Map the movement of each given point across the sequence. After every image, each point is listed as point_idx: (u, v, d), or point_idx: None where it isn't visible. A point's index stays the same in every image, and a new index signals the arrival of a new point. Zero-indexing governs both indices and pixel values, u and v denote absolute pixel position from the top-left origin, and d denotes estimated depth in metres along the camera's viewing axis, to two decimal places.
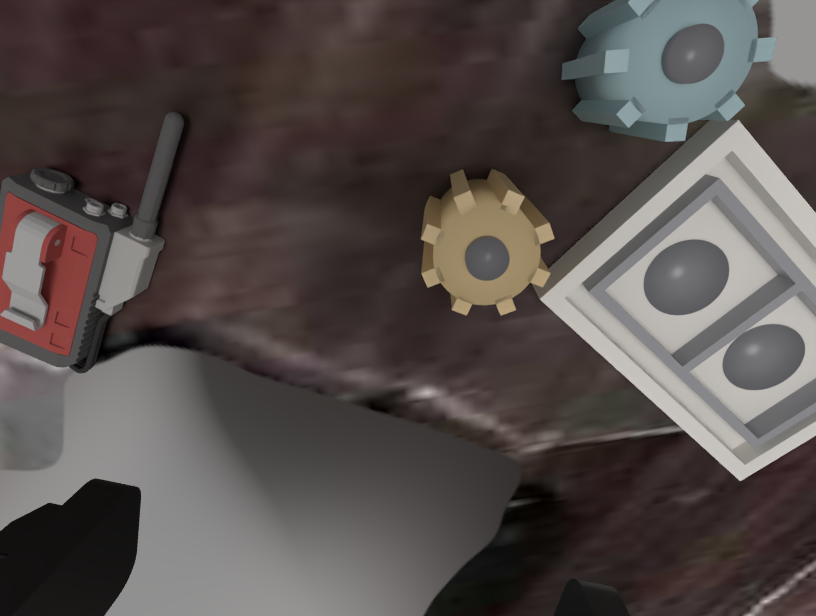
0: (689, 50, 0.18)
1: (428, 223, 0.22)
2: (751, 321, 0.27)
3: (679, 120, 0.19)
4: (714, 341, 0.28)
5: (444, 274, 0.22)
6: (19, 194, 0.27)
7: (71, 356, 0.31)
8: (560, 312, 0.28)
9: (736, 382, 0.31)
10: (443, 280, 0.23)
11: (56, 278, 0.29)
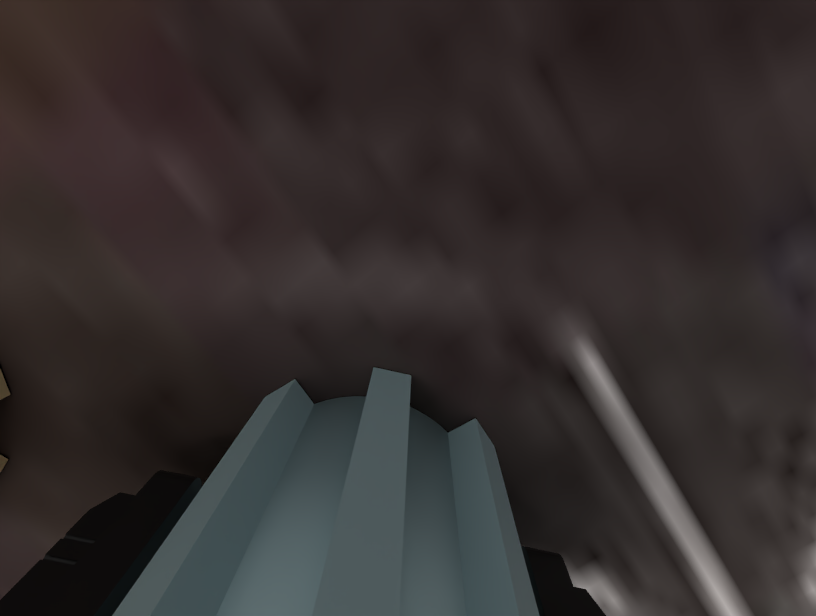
0: None
1: None
2: None
3: None
4: None
5: None
6: None
7: None
8: None
9: None
10: None
11: None
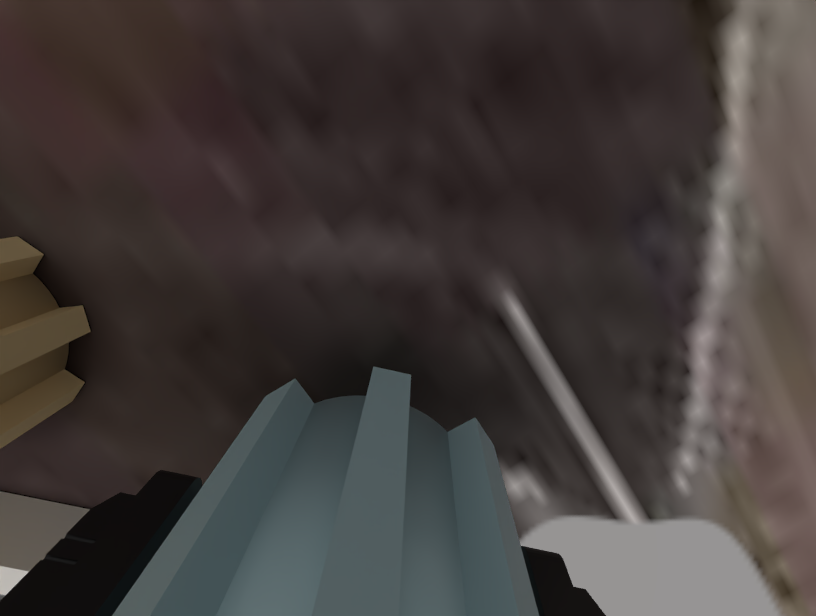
0: None
1: None
2: None
3: None
4: None
5: None
6: None
7: None
8: None
9: None
10: None
11: None
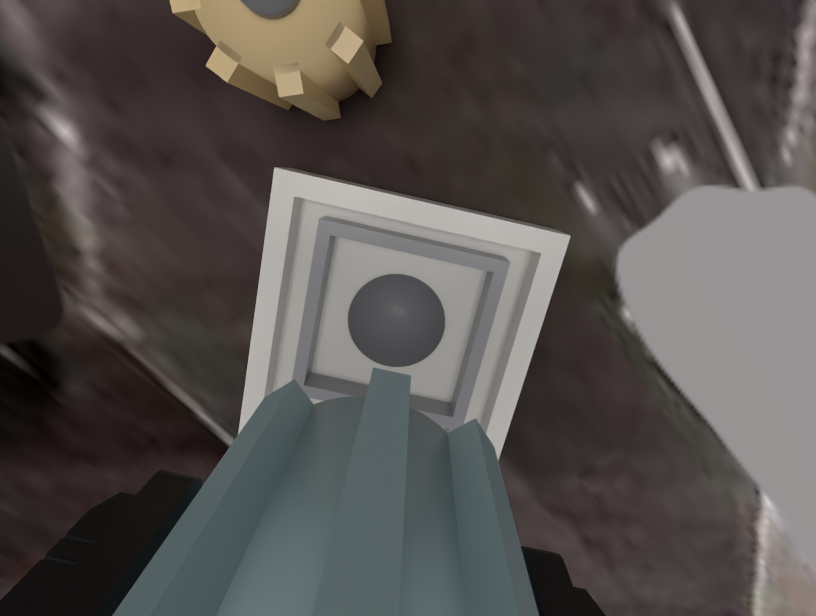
0: None
1: None
2: None
3: None
4: (350, 394, 0.23)
5: None
6: None
7: None
8: (275, 204, 0.20)
9: None
10: None
11: None
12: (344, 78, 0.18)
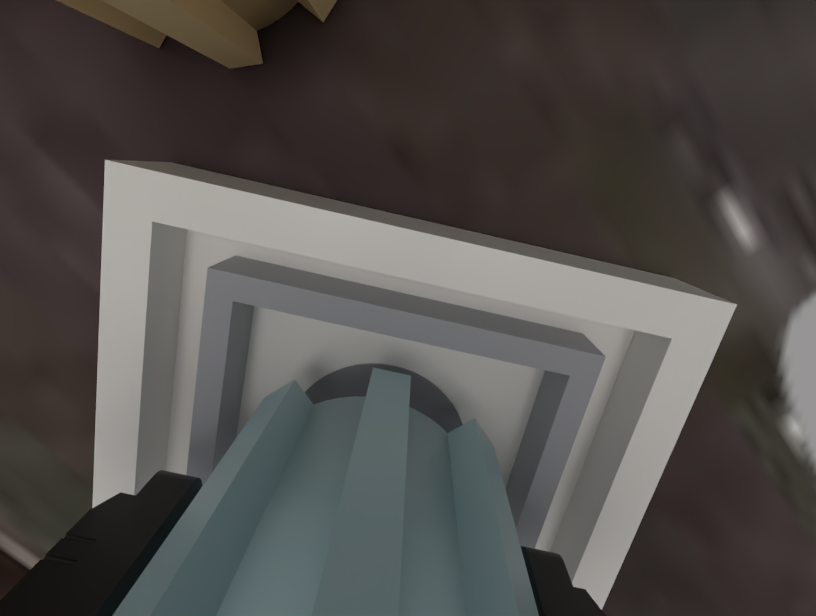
0: None
1: None
2: None
3: None
4: None
5: None
6: None
7: None
8: (114, 238, 0.10)
9: None
10: None
11: None
12: None
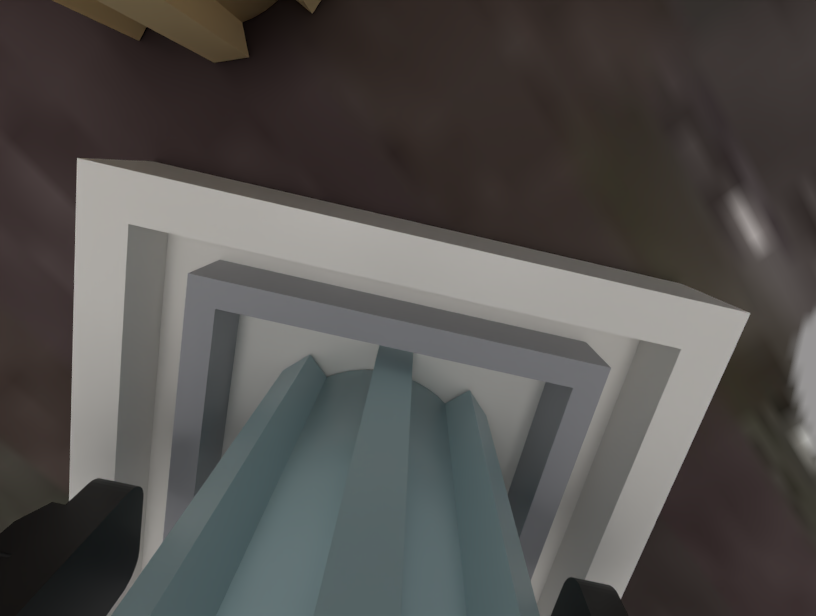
0: None
1: None
2: None
3: None
4: None
5: None
6: None
7: None
8: (87, 241, 0.09)
9: None
10: None
11: None
12: None
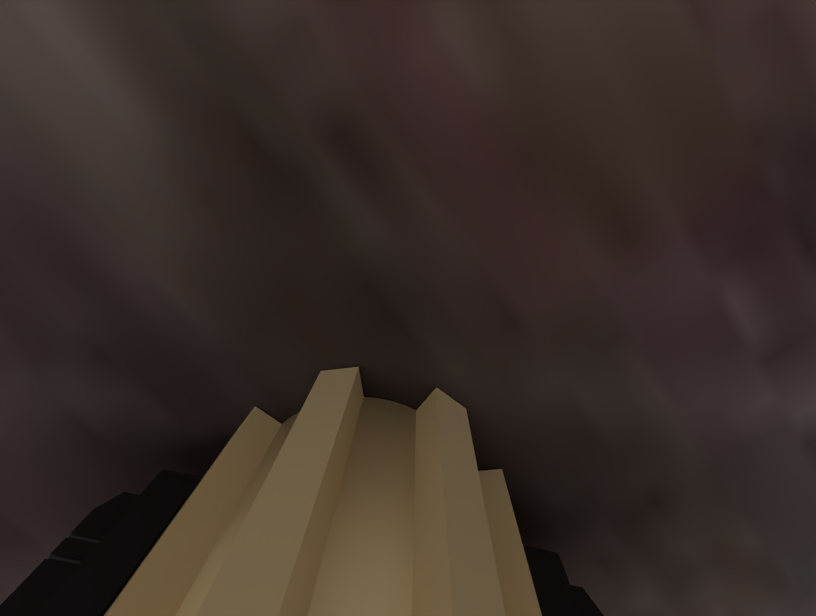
0: None
1: None
2: None
3: None
4: None
5: None
6: None
7: None
8: None
9: None
10: None
11: None
12: None
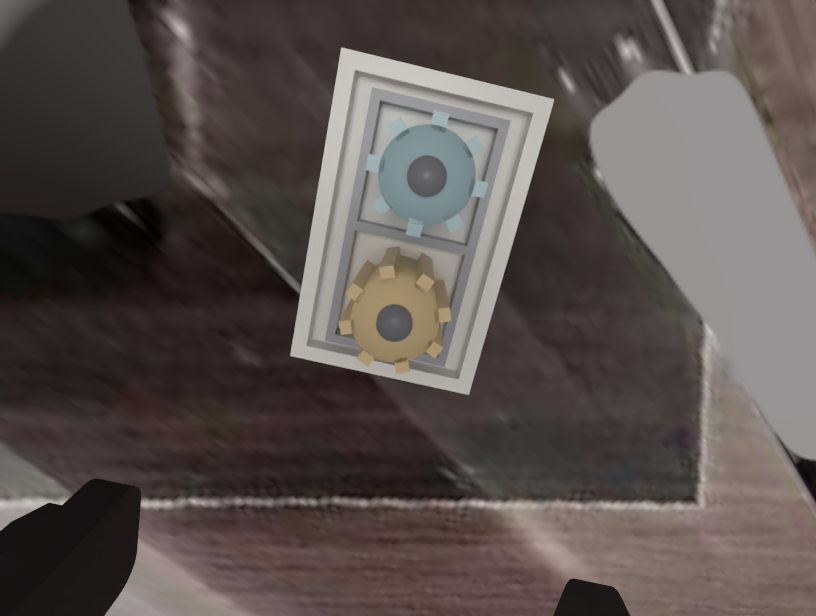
0: (426, 170, 0.23)
1: (393, 266, 0.25)
2: (422, 240, 0.30)
3: (388, 202, 0.24)
4: (391, 229, 0.30)
5: (362, 300, 0.26)
6: None
7: None
8: (340, 76, 0.28)
9: None
10: (358, 301, 0.26)
11: None
12: None
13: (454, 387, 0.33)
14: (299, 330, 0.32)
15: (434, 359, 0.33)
